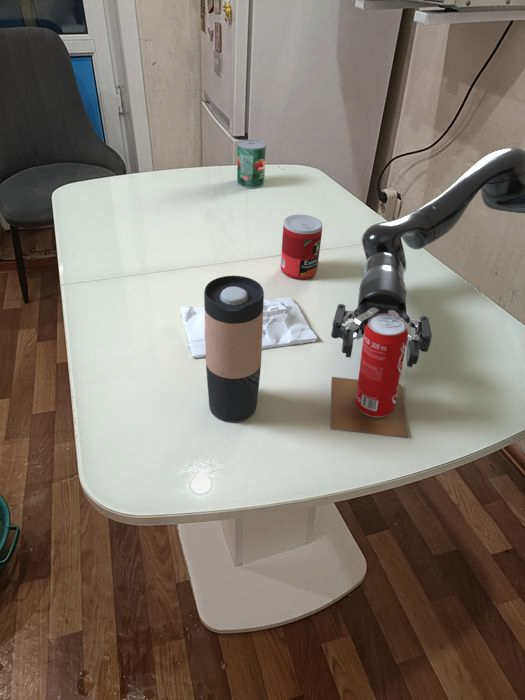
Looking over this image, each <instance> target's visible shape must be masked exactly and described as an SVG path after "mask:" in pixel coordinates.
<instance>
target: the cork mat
mask: <svg viewBox="0 0 525 700" xmlns="http://www.w3.org/2000/svg"><path fill="white" fill-rule="evenodd" d="M330 383H331V384H330V385H331V388H330V389H331V390H330V397H331V398H330V430H334V431H335V430H336V431H343V432H354V433H360V434H361V433H362V434H371V435H379V436H386V437H387V436H388V437H396V438H404V439H409V437H410V435H409V427H408V421H407V420H408V419H407V414H406V408H405V407H406V406H405V399H404V392H403V385H402V383H399V387H398V392H397V398H396V403H395V408H394V410H393V412H392V413H390V414H389V415H387V416H385V417H379V418H376V417H370V416H367V415H365V414H364V413H362V412H361V411H360V410H359V409H358V407H357V405H356V395H357V387H358V379H357V378H356V379H355V378H346V377H339V376H338V377H337V376H331V382H330Z"/></svg>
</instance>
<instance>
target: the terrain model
mask: <svg viewBox="0 0 525 700" xmlns="http://www.w3.org/2000/svg"><path fill="white" fill-rule="evenodd" d="M179 309H180V315H181V317H182V323H183V326H184V329H185V334H186V337H187V341H188V345H189V349H190V352H191V355H192V358H193V359H201V358H206V349H205V306H199V307H193V306H191V305H181V306H180V308H179ZM317 339H318V335H317V334H316V333H315V332H314V331H313V330H312V329H311V327H310V325H309V324H308V321H307V320H306V318H305V316H304V314H303V312H302V311H301V309H300V307H299V304H297V303H296V302H295V301H294V299H293V298H292V297H291V296H287V297H286V296H283V297H277V298H271V299H270V298H269V299H264V303H263V328H262V350H267V349H273V348H279V347H286V346H287V347H288V346H289V347H290V346H294V345H302V344H310V343H315V342H317Z"/></svg>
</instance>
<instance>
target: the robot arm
mask: <svg viewBox="0 0 525 700" xmlns="http://www.w3.org/2000/svg"><path fill="white" fill-rule="evenodd" d="M479 191H480V197H481V201H482V203H483V204H484V206H485V207H487V208H489V209H491V210H494V211H497V212H505V213H512V214H519V215H520V214H522V215H525V150H524V149H523V148H519V147H506V148H502V149H501V148H500V149H498V150H496V151H493V152H491V153H489V154H488V155H486V156H484V157H483V158H481V159H480V160H479V161H477V162H476V163H475V164H474V165H473V166H471V167H470V168H469V169H468V170H467V171H466V172H464V173H463V174H462V175H461V176H460V177H459V178H457V179H456V180H455V181H454V182H453V183H452V184H450V186H448V187H447V188H446V189H445V190H444V191H442V192H441V193H440V194H439V195H437V196H436V197H435V198H432V200H430V201H428V202H427V203H425V204H424V205H422V206H420V207H418V208H417V209H415V210H414V211H412V212H410V213H409V214H406V215H404V216H401V217H397V218H394V219H391V220H387V221H381V222H378V223H374V224H372V225H370V226H369V227H367V229H366V230H365V231H364V232H363V234H362V235H361V236H362V237H361V244H362V245H361V246H362V248H363V253H364V254H365V259H366V261H365V263H364V266H363V269H362V278H361V282H360V285H359V289H358V298H357V299H358V300H357V308H356V309H354V310H353V309H348V308H347V306H346V305H345V304H344V303H339V304H337V307H336V310H335V314H334V318H333V321H332V329H331V333H330V337H331V338H332V339H339V338H340V339H342V345H341V352H342V354H345V358H351V357H352V353H353V352H352V351H353V347H354V346H353V345H354V340H358V341H359V340H360V339H362V338H363V337H364V329H365V326H366V325H367V323H368V321H369V319H370V318H371V317H372V316H374V315H377V314H393V315H396V316H398V317H400V318H402V319H403V320H404V321H405V322H406V325H407V331H408V338H407V344H406V349H405V357H406V359H405V360H406V367H408V368H413V365H417V364H418V361H419V358H420V352H422V353H428V351H429V349H430V346H431V342H432V339H433V334H432V330H431V325H430V319H429V317H428V316H427V315H420V317H419V319H415V318H410V316H409V315H408V313H407V295H408V293H407V289H406V282H405V273H406V271H407V259H406V254H405V250H404V246H403V242H404V243H405V245H406V246H407V247H409V248H410V249H412V250H415V251H416V250H417V251H419V250H422V249H424V248H427V247H428V246H429V245H431V244H433V243H434V242H436V241H437V240H439V239H440V238H442V237H443V236H445V235H447V234H448V233H450V231H452V229H454V227H456V225H457V224H458V223H459V222H460V220H461V218H462V217H463V216H464V214H465V212H466V211H467V209H468V207H469V206H470V204H471V203H472V201H473V200H474V198H475V197H476V195H478V193H479ZM350 319H352V320H353V321H351V322H349V323H348V324H346V323H347V322H348V321H349V320H350Z"/></svg>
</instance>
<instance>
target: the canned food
mask: <svg viewBox="0 0 525 700" xmlns="http://www.w3.org/2000/svg"><path fill="white" fill-rule="evenodd" d="M322 236H323V221H321V220H320V219H319V218H317V217H316V216H312V215H308V214H292V215H289V216H287V217H285V218H284V220H283V224H282V237H281V252H280V270H281V272H282V273H283V274H284V275H285V276H286V277H288V278H291V279H294V280H309V279H311V278H314V276H316V274H317V271H318V268H319V260H320V259H319V258H320V252H321V251H320V250H321V245H322V243H321V242H322Z"/></svg>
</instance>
